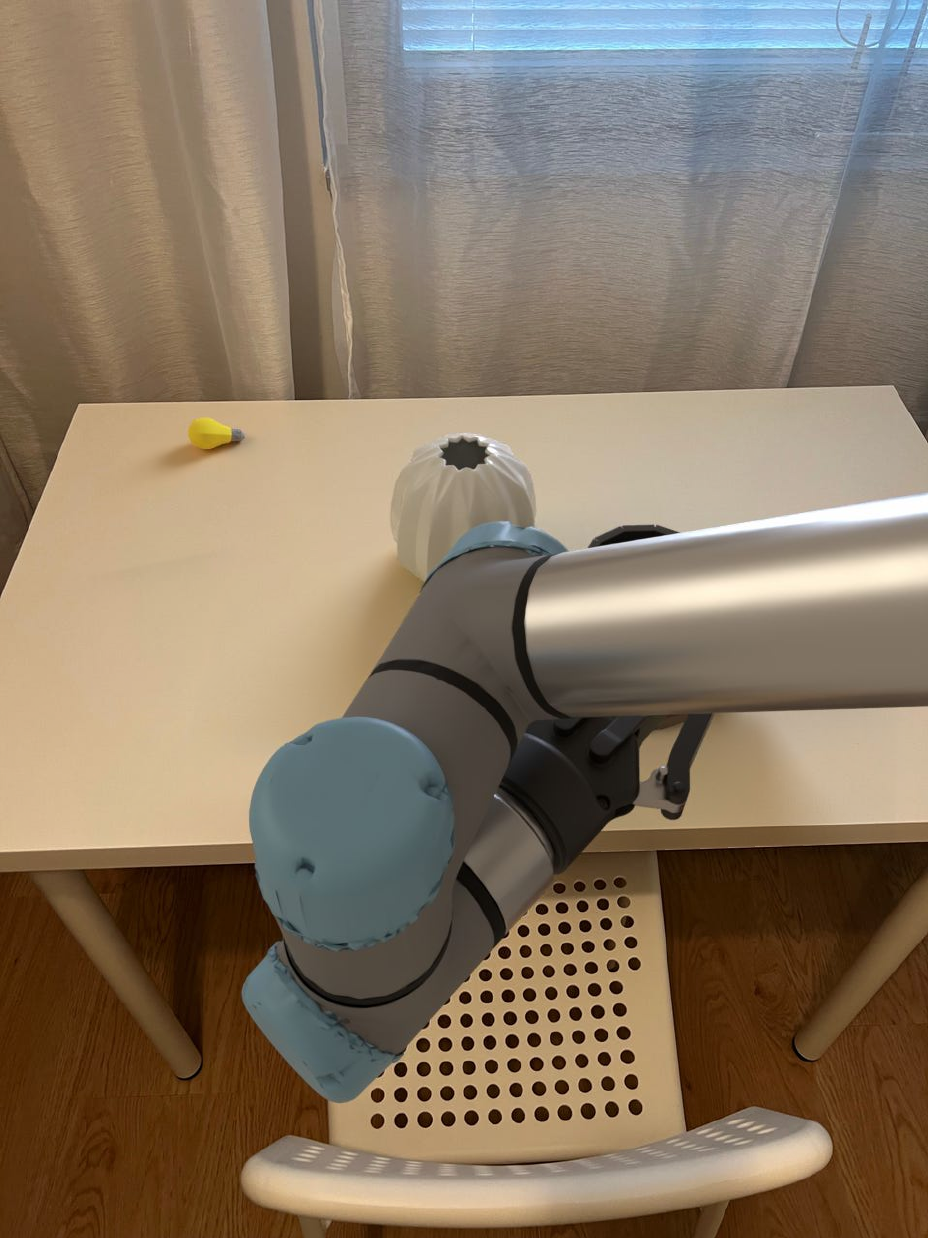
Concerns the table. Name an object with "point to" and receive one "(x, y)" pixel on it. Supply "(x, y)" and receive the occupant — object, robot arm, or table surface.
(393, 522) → the vase
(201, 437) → the light bulb
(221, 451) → the table surface
